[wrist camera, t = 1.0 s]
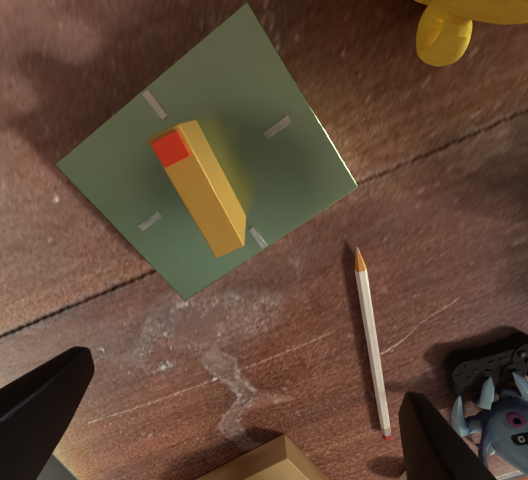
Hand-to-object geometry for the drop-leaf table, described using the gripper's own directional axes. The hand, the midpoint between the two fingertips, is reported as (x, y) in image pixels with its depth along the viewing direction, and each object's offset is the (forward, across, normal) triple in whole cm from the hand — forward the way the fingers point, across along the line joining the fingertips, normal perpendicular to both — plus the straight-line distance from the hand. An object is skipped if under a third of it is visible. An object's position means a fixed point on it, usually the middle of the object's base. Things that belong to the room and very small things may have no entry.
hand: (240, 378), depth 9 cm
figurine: (+15, -19, +15) cm, 28 cm away
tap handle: (+10, +3, -3) cm, 11 cm away
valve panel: (+13, +4, -3) cm, 14 cm away
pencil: (+13, -8, +11) cm, 19 cm away
